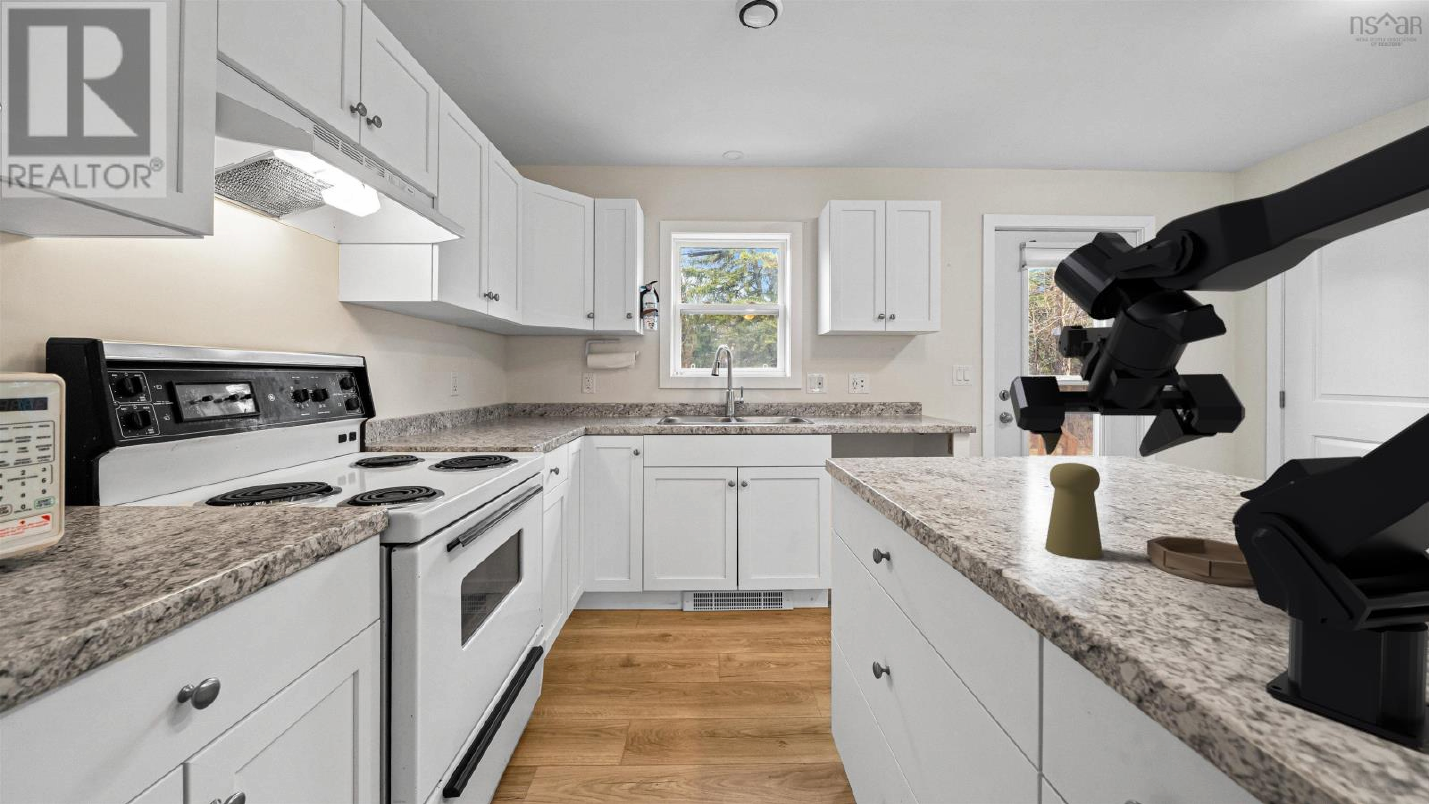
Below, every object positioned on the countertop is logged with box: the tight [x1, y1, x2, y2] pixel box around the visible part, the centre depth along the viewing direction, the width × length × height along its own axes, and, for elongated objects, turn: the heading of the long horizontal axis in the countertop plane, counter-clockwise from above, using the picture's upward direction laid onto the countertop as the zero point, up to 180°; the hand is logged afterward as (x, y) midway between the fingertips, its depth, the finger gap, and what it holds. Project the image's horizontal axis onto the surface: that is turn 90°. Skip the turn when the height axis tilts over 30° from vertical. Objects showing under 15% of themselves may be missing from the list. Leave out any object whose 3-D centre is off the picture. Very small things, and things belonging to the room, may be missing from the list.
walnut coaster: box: [1146, 535, 1256, 588], centre depth 59 cm, size 10×10×2 cm
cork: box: [1044, 462, 1104, 560], centre depth 66 cm, size 6×6×11 cm
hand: (1093, 452), depth 60 cm, fingers open, 9 cm apart
